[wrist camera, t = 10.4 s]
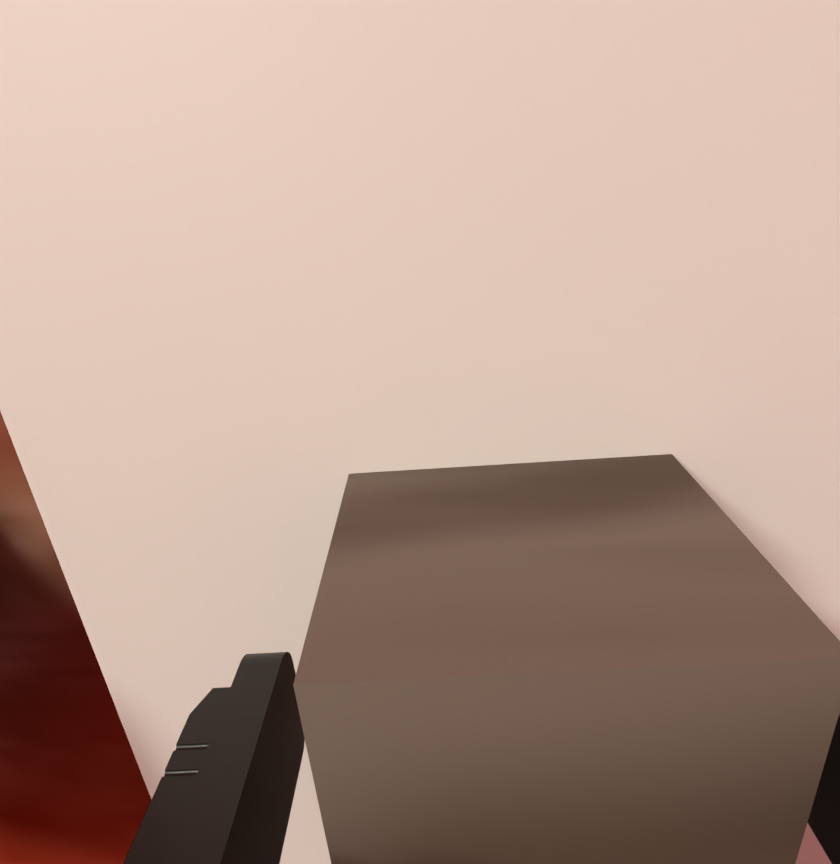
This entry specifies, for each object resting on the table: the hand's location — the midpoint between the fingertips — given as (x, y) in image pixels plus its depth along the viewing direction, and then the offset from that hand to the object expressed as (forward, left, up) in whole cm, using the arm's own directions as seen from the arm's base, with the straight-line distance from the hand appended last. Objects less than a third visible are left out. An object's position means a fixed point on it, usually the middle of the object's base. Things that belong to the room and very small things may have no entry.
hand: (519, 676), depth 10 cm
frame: (0, +7, -2) cm, 7 cm away
